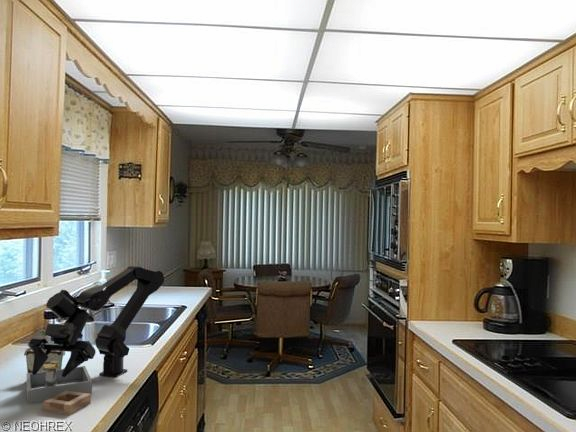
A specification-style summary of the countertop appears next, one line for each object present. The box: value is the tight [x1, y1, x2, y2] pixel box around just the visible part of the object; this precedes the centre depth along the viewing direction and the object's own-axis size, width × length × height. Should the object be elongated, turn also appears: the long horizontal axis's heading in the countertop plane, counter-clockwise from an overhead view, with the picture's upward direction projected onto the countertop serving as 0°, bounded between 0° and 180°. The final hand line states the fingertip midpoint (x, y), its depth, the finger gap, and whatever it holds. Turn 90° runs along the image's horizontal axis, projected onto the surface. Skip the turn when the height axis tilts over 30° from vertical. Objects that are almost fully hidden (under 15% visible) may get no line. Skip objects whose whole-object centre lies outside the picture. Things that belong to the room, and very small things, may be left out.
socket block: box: [42, 391, 92, 416], centre depth 124 cm, size 8×8×4 cm
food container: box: [23, 347, 66, 374], centre depth 151 cm, size 12×6×10 cm, turn 92°
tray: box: [25, 365, 93, 405], centre depth 137 cm, size 16×16×5 cm
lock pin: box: [44, 361, 59, 387], centre depth 133 cm, size 4×4×10 cm
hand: (48, 375), depth 132 cm, fingers open, 9 cm apart
